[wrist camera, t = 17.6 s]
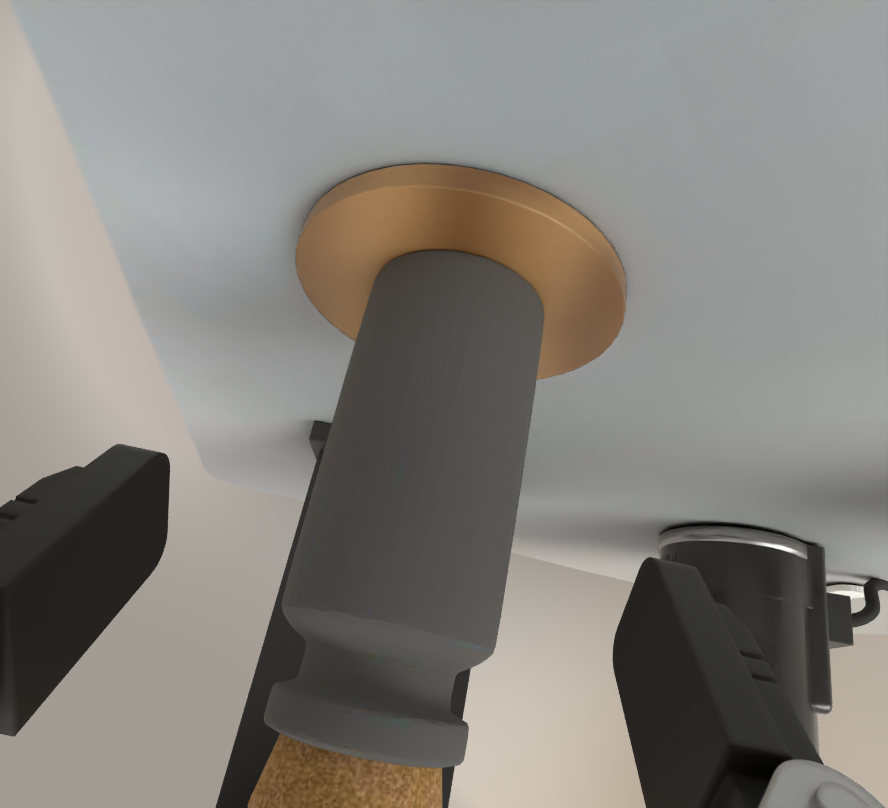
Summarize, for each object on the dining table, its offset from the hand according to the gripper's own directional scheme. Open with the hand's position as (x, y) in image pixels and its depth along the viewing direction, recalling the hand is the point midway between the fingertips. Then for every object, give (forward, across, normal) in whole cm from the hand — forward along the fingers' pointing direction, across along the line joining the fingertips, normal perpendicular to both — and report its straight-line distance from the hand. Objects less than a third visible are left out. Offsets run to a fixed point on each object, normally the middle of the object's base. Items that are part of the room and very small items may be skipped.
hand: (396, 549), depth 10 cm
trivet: (+13, 0, -2) cm, 13 cm away
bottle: (+12, 0, -2) cm, 12 cm away
